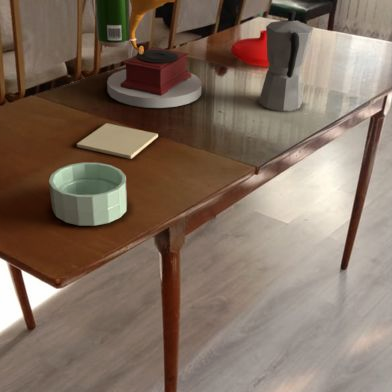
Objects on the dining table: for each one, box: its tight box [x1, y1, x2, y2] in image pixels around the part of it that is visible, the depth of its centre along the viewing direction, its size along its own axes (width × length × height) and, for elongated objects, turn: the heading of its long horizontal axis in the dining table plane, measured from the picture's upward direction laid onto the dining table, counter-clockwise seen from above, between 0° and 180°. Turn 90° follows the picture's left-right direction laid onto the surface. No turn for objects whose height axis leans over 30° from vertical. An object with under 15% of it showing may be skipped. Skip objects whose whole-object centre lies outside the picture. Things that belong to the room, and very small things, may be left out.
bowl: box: [48, 162, 128, 227], centre depth 95 cm, size 11×11×5 cm
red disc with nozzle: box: [230, 29, 269, 68], centre depth 152 cm, size 16×16×7 cm
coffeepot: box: [258, 9, 314, 112], centre depth 127 cm, size 15×9×18 cm, turn 2°
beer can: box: [94, 0, 131, 48], centre depth 99 cm, size 5×5×12 cm
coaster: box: [76, 122, 159, 160], centre depth 116 cm, size 11×11×1 cm
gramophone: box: [106, 0, 202, 109], centre depth 129 cm, size 20×20×25 cm
